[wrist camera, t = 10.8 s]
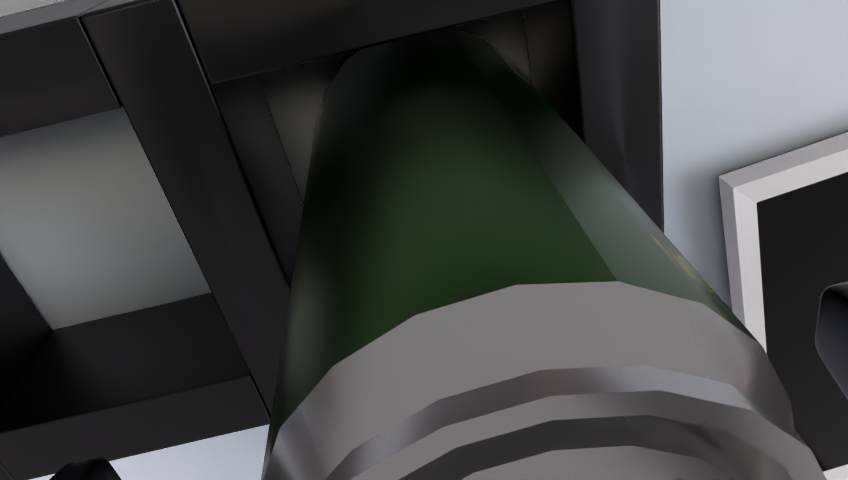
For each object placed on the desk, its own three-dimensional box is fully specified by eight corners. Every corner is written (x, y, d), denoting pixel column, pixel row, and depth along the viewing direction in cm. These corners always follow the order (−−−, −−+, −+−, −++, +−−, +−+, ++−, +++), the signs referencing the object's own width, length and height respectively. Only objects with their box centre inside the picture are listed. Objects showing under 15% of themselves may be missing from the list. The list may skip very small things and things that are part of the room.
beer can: (428, -34, 14) (646, 213, 4) (570, 128, 16) (954, 565, 6) (271, 130, 15) (106, 638, 5) (421, 257, 18) (516, 787, 7)
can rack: (580, -127, 13) (659, -130, 10) (607, 247, 18) (666, 332, 15) (-205, 67, 14) (-392, 130, 10) (27, 383, 19) (-48, 498, 15)
